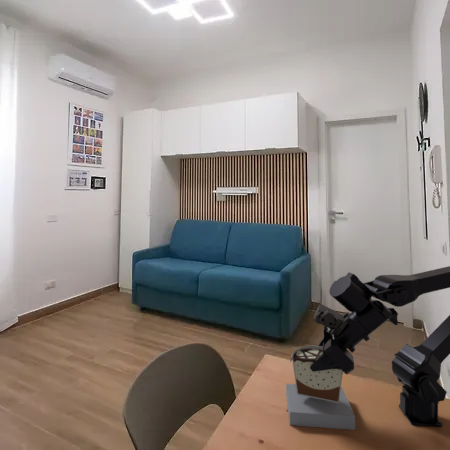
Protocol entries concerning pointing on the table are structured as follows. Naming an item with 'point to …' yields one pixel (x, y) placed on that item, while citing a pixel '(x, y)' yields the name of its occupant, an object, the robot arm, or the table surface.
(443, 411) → the table surface
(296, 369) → the food container
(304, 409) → the base block
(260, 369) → the table surface
